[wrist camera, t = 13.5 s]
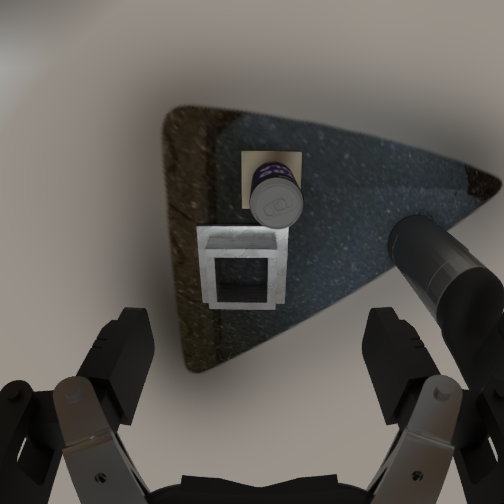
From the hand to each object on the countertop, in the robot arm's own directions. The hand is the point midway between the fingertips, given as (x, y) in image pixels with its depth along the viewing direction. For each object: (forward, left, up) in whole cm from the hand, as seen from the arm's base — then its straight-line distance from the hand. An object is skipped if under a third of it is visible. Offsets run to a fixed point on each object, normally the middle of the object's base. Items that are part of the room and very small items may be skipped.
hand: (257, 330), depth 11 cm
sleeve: (+2, +15, -35) cm, 38 cm away
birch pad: (-2, +2, -35) cm, 35 cm away
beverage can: (-2, +2, -34) cm, 34 cm away
